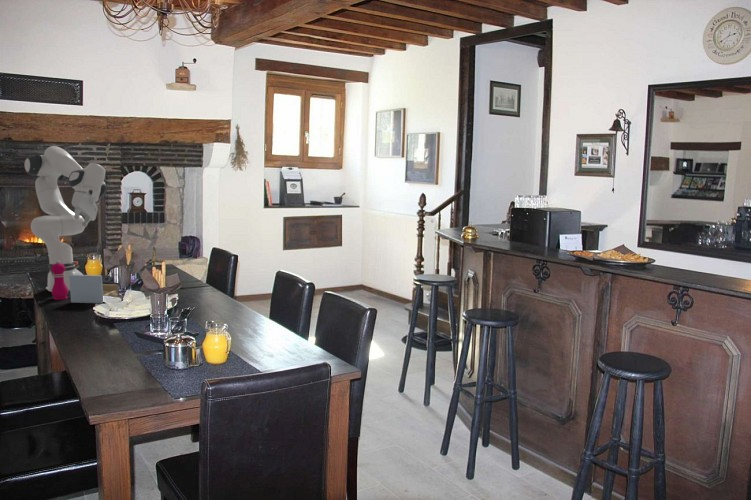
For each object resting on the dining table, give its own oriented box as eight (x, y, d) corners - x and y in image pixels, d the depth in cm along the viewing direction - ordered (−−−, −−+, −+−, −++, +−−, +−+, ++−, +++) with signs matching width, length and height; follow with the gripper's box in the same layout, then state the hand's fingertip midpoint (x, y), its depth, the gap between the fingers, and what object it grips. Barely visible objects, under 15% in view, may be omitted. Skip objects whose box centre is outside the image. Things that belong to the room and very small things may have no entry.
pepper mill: (72, 299, 319) (69, 259, 316) (63, 303, 312) (60, 261, 309) (57, 299, 320) (54, 258, 317) (49, 302, 313) (45, 261, 310)
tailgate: (72, 302, 309) (70, 274, 307) (104, 303, 307) (102, 275, 305) (70, 303, 308) (68, 275, 306) (102, 304, 306) (101, 275, 304)
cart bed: (88, 297, 323) (87, 283, 322) (118, 298, 322) (117, 284, 320) (73, 304, 309) (72, 290, 308) (104, 305, 308) (103, 290, 307)
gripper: (90, 202, 320) (82, 229, 315) (73, 185, 300) (64, 213, 296) (103, 204, 319) (95, 231, 315) (87, 187, 300) (78, 215, 296)
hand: (80, 222), depth 305 cm, fingers open, 8 cm apart
